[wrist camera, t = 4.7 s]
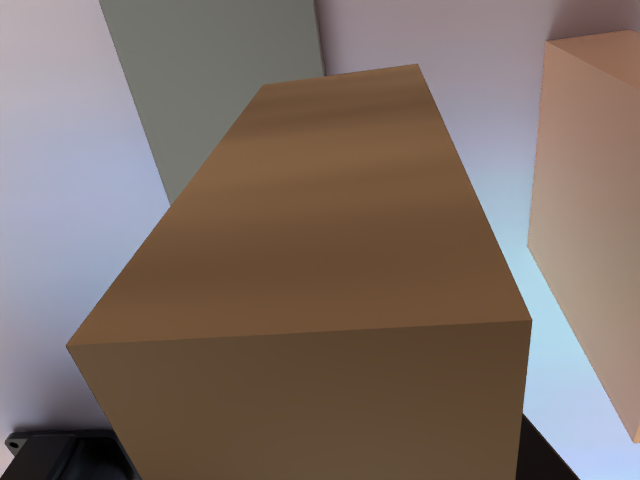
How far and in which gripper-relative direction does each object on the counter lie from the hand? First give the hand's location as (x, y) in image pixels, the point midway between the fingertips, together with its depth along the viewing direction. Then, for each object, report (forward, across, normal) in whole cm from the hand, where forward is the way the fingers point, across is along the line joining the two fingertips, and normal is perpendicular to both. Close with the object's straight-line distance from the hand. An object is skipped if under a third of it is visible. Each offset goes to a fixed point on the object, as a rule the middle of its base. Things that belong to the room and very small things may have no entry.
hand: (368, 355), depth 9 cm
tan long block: (+1, 0, 0) cm, 1 cm away
